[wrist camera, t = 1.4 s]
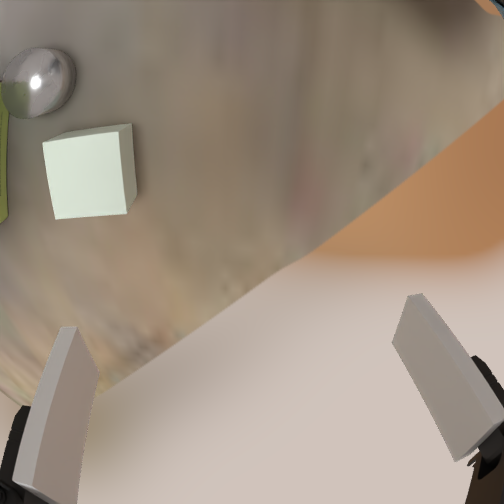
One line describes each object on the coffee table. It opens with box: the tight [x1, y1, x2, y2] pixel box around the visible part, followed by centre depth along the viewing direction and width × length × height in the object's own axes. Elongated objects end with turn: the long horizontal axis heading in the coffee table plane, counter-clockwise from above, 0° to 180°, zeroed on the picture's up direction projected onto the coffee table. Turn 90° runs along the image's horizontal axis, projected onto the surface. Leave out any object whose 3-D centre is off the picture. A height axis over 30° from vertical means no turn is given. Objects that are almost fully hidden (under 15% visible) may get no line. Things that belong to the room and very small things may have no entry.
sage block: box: [43, 123, 137, 219], centre depth 26 cm, size 7×7×5 cm
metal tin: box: [1, 48, 76, 119], centre depth 21 cm, size 6×6×4 cm
